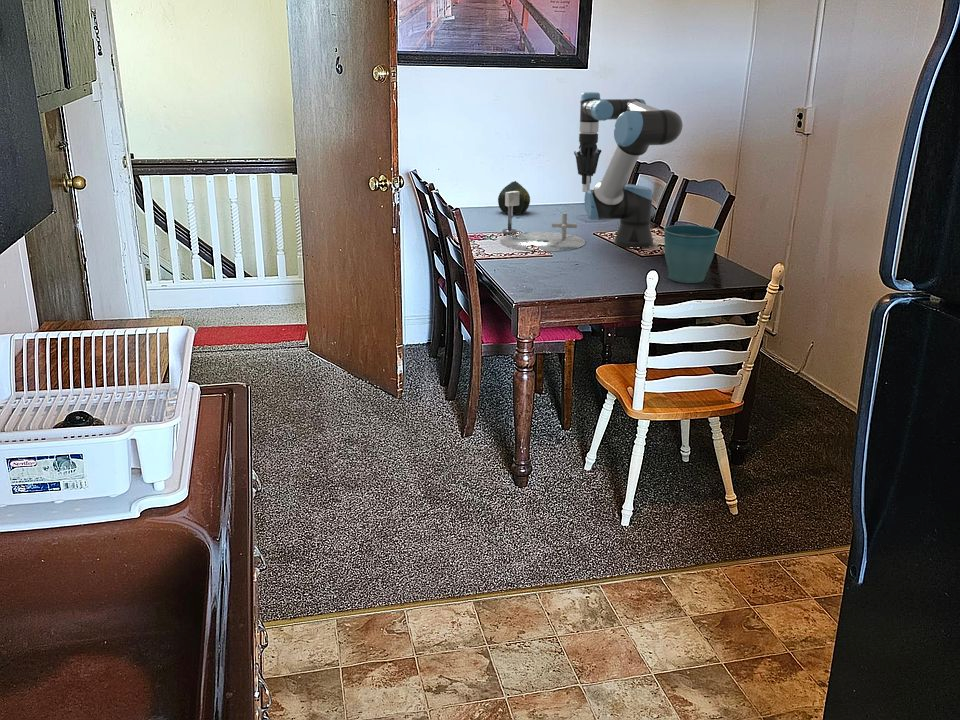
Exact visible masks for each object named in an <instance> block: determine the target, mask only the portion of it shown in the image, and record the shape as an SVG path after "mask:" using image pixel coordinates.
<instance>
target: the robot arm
mask: <svg viewBox="0 0 960 720" xmlns="http://www.w3.org/2000/svg"><path fill="white" fill-rule="evenodd" d="M580 95H581V96H580V101H579V102H580V109H579V111H580V112H579V113H580V115H579V133H578V142H579V146H578V149H577V150H575V151H573V154H574V156H575V162H576V168H577V169H576V170H577V175H580V176H581V184H582V192H583V193H584V210H585V213H586V216H587V218H588V219H589V220H591V221H606V220H619V221H620V222H619V227H618V230H617V232H616V234H615V236H614V245H615V244H616V245H615V246H617V245H618V246H617V247H620V246H623V247H622V248H625V247H648V248H650V247H649V246H651V247H653V246H654V237H653V235H652V229H651V216H652V215H651V214H652V202H653V191H652V190H651V188H650V187H647V186H643V185H637V184H629V183H627V182H628V180H629V178H630V176H631V174H632V172H633V170H634V168H635V165H636V163H637V161H638V159H639V157H640V156H642V155H643V156H644V154H645V153H646V152H647V151H648V148H649V147H650V146H662V145H663V146H664V145H668V144H671V143H673V142H675V140H677V139H678V137H679V136H680V135H681V133H682V131H683V127H684V126H683V125H684V124H683V120H682V118H681V116H680V114H678V113H677V112H675V111H673V110H670V109H659V108H656V107H653V106H651V105H648V104H647V102H646V101H645V100H644V99H643V98H642V99H641V98H621V99H620V98H619V99H618V98H617V99H616V98H610V99H607V98H606V99H604V98H603V99H601V94H600V92H598V91H597V92H595V91H594V92H593V91H590V92H589V91H587V92H586V91H585V92H582V93H581V94H580ZM608 120H615V123H614V129H613V138H614V141H615V143H616V145H617V146H616V148H615V151H614V152H613V155H612V158H611V160H610V162H609V164H608V167H607V169H606V171H605V173H604V175H603V177H602V180H600V181H598V182H597V183H596V184H595V186H594V188H593V189H590V187H591V184H592V177H593V176H594V174H596V172H597V168H598V163H599V158H600V155H601V153H602V149H599V148H598V145H597V143H598V141H599V134H598V132H599V127H600V126H599V123H600V122H602V121H608ZM652 245H653V246H652Z"/></svg>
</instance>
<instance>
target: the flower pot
mask: <svg viewBox="0 0 960 720" xmlns="http://www.w3.org/2000/svg"><path fill="white" fill-rule="evenodd" d="M663 232H664V247H663V248H664V257H665V262H666V265H667V270H668V278H669V279H670V280H671V281H674V282H678V283H683V284H697V283H702V282H704V281H705V279H706V275H707V272H708V270H709V268H710V266H711V264H712V261H713V259H714V256H715V252H716V249H717V248H716V247H717V242H718V239H719V236H720V231H719V230H718V229H715V228H713V227H710V226H709V227H708V226H702V225H691V224H677V225H676V224H674V225H668V226H666V227H664V228H663Z"/></svg>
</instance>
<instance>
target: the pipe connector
mask: <svg viewBox="0 0 960 720" xmlns="http://www.w3.org/2000/svg"><path fill="white" fill-rule="evenodd" d="M561 214H562V215H561V216H562V217H561V218H562V219H561V223H560V222H552V223H551V228H557V229H558V228H561V233H562V238H566V234H567V228H568V229H577V227H578V226H577V223H567V222H568V221H567V220H568V212H562V213H561Z"/></svg>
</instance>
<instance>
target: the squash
mask: <svg viewBox="0 0 960 720" xmlns="http://www.w3.org/2000/svg"><path fill="white" fill-rule="evenodd" d="M511 191H519V192H520V195H519V205H517V206H513V214H515V213H516V215H519V214H522V213H526V211H527V210H528V208H529V207H530V204H531V197H530V194H529V192H528V191H527V189H526V188H525V187H523V185H522V184H520V183H519V182H518V181H516V180H515V181H511V182H510V183H509V184H507V185H506V186H504V187H503V188H502V190H501V191H500V192H499V195H498V198H497V202H498V207H499V209H500V211H501V212H503V213H505V212H508V206H505V192H511Z"/></svg>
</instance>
